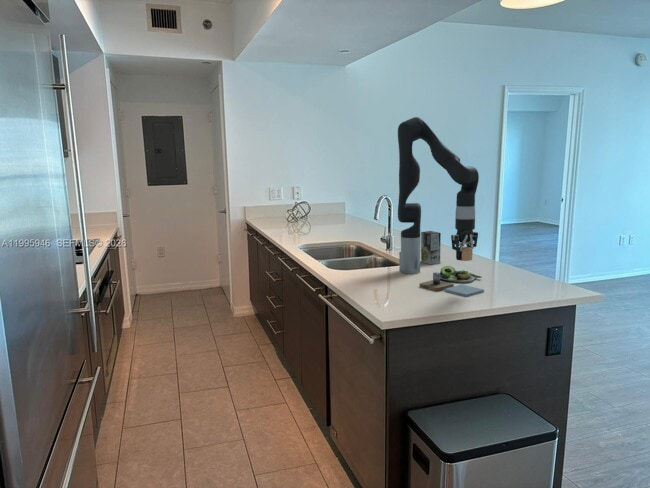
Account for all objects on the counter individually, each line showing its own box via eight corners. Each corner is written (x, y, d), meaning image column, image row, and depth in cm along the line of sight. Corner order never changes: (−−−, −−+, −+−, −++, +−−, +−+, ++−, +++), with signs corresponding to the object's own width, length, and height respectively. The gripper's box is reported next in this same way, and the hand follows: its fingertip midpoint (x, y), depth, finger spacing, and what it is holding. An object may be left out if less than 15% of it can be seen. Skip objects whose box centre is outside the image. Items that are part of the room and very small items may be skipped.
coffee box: (440, 263, 246) (441, 232, 244) (430, 264, 244) (430, 233, 241) (430, 260, 255) (431, 230, 252) (420, 261, 252) (420, 231, 250)
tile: (444, 291, 195) (444, 288, 195) (461, 286, 201) (461, 284, 201) (466, 297, 186) (466, 294, 186) (483, 292, 192) (484, 289, 192)
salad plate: (485, 276, 218) (485, 267, 217) (476, 286, 203) (477, 275, 202) (443, 273, 227) (443, 263, 227) (432, 281, 212) (432, 271, 211)
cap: (465, 261, 187) (465, 249, 186) (454, 259, 192) (454, 247, 191) (475, 259, 190) (475, 247, 189) (464, 257, 194) (464, 246, 194)
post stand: (419, 286, 203) (419, 273, 202) (435, 282, 208) (435, 269, 207) (437, 291, 195) (437, 277, 193) (453, 287, 200) (453, 273, 199)
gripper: (460, 219, 181) (460, 262, 184) (484, 216, 189) (483, 258, 192) (445, 218, 187) (444, 260, 190) (469, 215, 195) (468, 255, 198)
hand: (464, 258), depth 191 cm, fingers closed on cap, 5 cm apart
